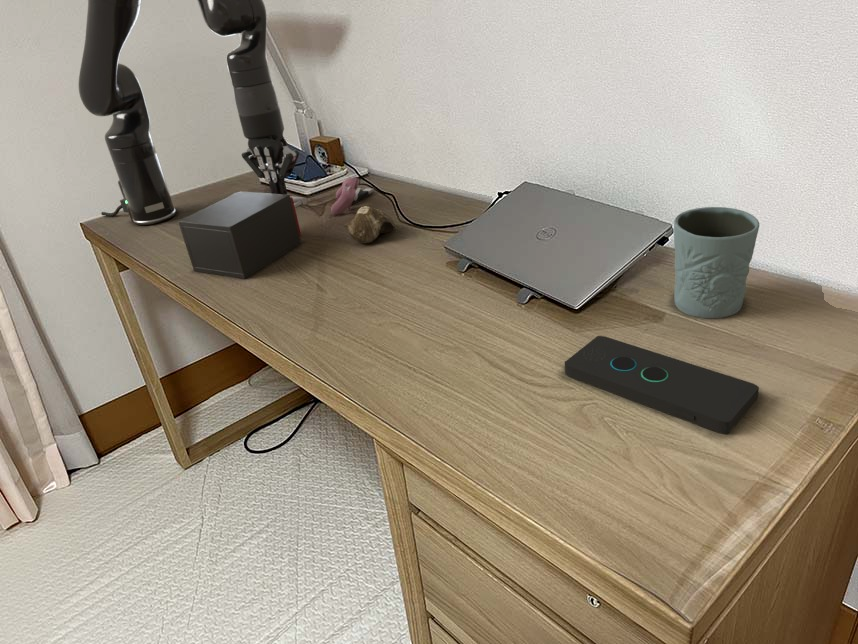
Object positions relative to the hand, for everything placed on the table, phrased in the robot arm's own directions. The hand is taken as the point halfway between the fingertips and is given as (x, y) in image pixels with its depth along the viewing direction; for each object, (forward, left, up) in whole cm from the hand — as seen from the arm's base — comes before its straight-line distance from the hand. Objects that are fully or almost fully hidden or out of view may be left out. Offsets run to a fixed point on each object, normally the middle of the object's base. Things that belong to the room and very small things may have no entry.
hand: (280, 198), depth 135 cm
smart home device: (+79, -29, -7) cm, 84 cm away
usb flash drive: (+2, +20, -7) cm, 22 cm away
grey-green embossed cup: (+81, -8, -7) cm, 82 cm away
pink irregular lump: (+4, +15, -7) cm, 17 cm away
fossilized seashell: (+19, +2, -7) cm, 20 cm away
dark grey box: (0, -12, -7) cm, 14 cm away
